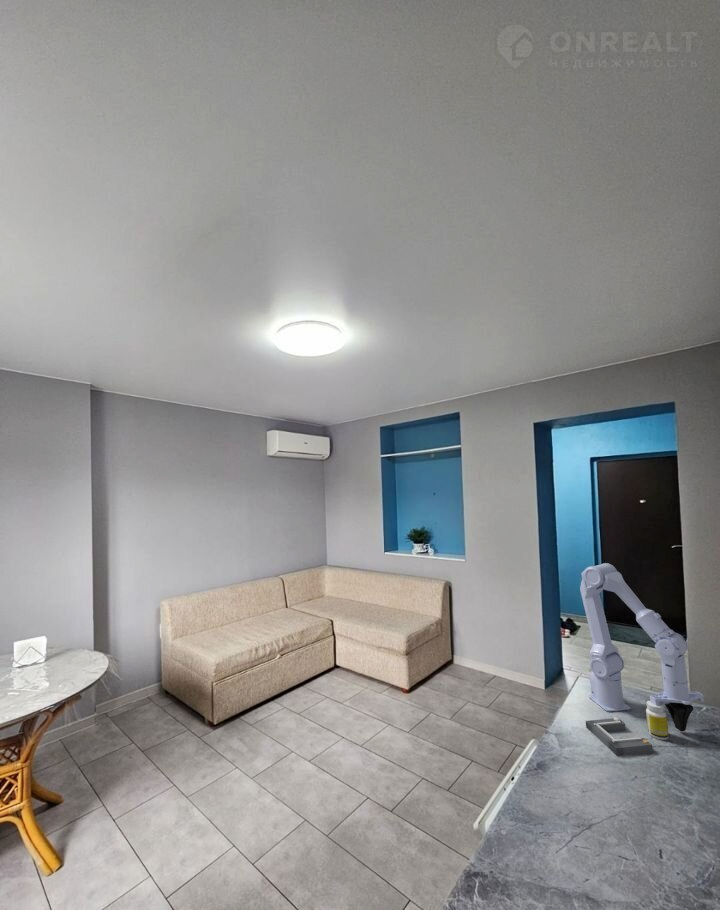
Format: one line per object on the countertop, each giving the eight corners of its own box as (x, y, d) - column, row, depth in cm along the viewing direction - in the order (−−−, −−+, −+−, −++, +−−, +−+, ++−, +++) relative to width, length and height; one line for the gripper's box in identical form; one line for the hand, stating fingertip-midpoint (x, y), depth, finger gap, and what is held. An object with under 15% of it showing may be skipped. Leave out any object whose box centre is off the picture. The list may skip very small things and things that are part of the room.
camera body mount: (586, 727, 120) (585, 718, 121) (618, 724, 121) (617, 715, 121) (616, 755, 107) (615, 745, 108) (652, 751, 108) (651, 742, 108)
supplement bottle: (673, 740, 113) (669, 707, 113) (655, 740, 113) (652, 708, 114) (660, 730, 118) (657, 699, 118) (644, 730, 118) (641, 699, 118)
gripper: (662, 687, 112) (667, 740, 111) (711, 683, 114) (717, 735, 112) (642, 676, 119) (647, 725, 118) (689, 672, 121) (694, 720, 119)
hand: (680, 729), depth 116 cm, fingers closed
